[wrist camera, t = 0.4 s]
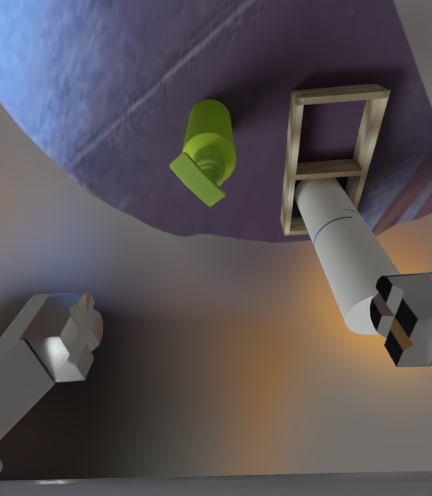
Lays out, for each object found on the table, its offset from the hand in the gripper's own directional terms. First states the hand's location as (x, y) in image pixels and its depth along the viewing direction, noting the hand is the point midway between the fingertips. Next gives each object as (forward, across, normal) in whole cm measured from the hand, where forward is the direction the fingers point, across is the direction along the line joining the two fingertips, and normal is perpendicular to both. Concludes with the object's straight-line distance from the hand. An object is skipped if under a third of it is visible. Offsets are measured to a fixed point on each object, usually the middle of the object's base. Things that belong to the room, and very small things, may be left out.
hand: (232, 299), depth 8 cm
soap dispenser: (+38, +2, +2) cm, 38 cm away
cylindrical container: (+40, -15, +15) cm, 45 cm away
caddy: (+39, -15, +10) cm, 43 cm away
